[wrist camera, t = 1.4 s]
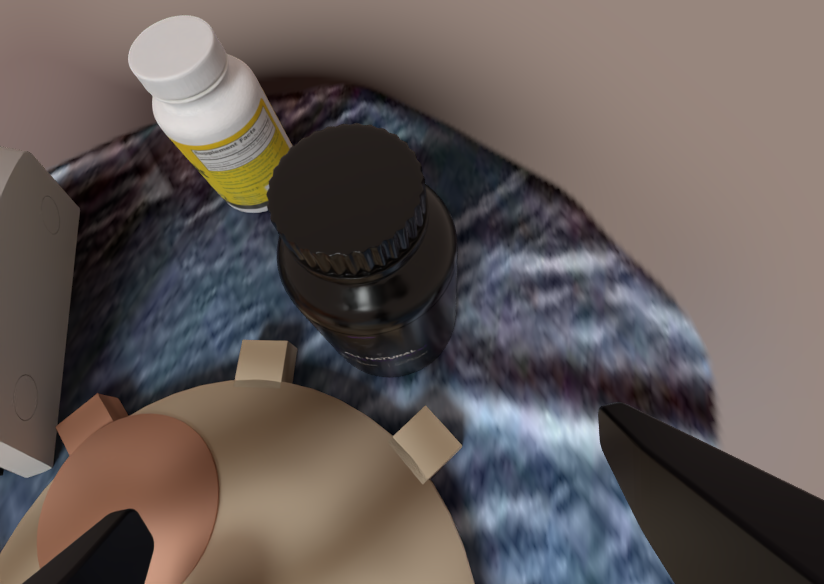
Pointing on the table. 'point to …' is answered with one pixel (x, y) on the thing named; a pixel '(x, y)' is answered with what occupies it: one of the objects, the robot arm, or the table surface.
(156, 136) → the table surface
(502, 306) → the table surface
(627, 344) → the table surface
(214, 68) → the supplement bottle
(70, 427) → the sprocket wheel
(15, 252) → the white arched block
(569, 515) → the table surface
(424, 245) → the supplement bottle
